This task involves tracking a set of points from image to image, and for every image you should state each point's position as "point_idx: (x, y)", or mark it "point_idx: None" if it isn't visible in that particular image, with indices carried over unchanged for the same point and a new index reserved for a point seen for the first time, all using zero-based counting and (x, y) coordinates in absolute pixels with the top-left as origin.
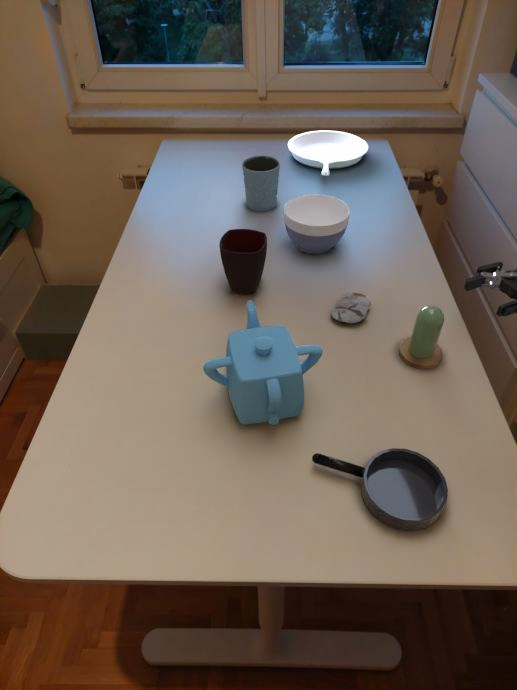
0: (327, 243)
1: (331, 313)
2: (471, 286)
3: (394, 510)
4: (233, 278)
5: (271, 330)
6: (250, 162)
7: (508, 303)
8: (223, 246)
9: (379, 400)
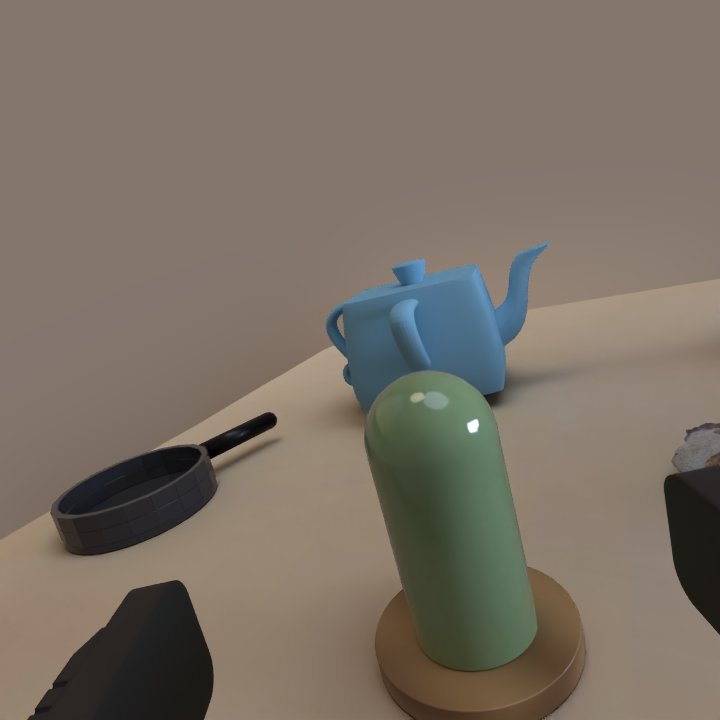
0: None
1: None
2: (715, 583)
3: (132, 492)
4: None
5: (460, 274)
6: None
7: (111, 661)
8: None
9: (338, 510)
